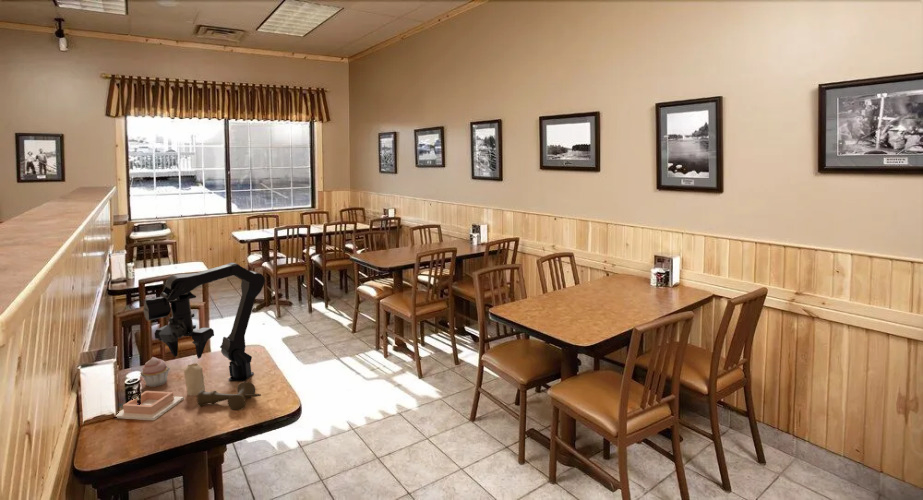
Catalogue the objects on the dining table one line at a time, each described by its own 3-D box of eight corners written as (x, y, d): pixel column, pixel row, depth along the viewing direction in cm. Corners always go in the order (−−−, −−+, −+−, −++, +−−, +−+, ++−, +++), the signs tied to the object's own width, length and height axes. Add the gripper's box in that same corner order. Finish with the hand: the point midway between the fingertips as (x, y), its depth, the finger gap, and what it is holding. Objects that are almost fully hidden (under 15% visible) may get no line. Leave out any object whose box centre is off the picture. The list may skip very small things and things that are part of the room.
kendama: (207, 399, 178) (267, 396, 178) (194, 414, 168) (257, 410, 168) (204, 383, 176) (264, 379, 176) (190, 397, 167) (254, 393, 167)
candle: (197, 396, 178) (194, 368, 176) (183, 395, 179) (179, 367, 177) (208, 389, 184) (205, 362, 182) (194, 388, 185) (191, 361, 183)
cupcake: (161, 375, 196) (158, 350, 194) (177, 380, 191) (173, 354, 189) (136, 385, 188) (132, 359, 186) (151, 391, 183) (147, 364, 181)
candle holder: (183, 399, 177) (182, 389, 176) (153, 420, 163) (152, 410, 163) (146, 396, 179) (144, 387, 178) (113, 417, 165) (112, 408, 165)
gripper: (138, 319, 170) (145, 365, 173) (188, 322, 166) (194, 369, 169) (164, 308, 180) (170, 352, 183) (212, 311, 176) (217, 355, 179)
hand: (187, 357), depth 178 cm, fingers open, 9 cm apart
